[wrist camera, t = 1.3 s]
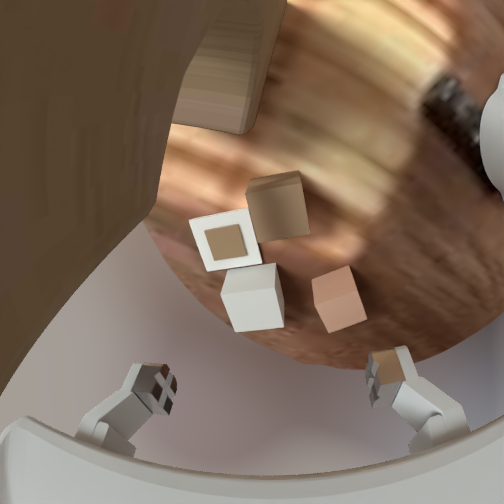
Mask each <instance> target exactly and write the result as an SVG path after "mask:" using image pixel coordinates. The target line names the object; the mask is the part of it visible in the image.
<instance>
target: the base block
mask: <svg viewBox="0 0 504 504" xmlns="http://www.w3.org/2000/svg"><path fill="white" fill-rule="evenodd" d="M221 297H222V300H223V302H224V305H225V307H226V310H227V312H228V315H229V318H230V320H231V323H232V325H233V328H234V330H235V332H242V331H253V330H263V329H272V328H281V327H284V297H283V293H282V288H281V284H280V280H279V275H278V271H277V267H276V263H272V264H265V265H259V266H252V267H246V268H239V269H232V270H228V271H227V275H226V278H225V281H224V285H223V288H222V291H221Z"/></svg>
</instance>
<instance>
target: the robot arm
mask: <svg viewBox="0 0 504 504" xmlns="http://www.w3.org/2000/svg"><path fill="white" fill-rule="evenodd" d="M480 150H481V157H482V161H483V165H484V168H485V171H486V173H487V175H488V177H489V179H490V181H491V182H492V184H493V185H494V186H495V187H496V188H497V189H498V190H499V191H500V193H501V195H502V198H503V201H504V74H502V75H501V77H500V81H499V85H498V88H497V90H496V91H495V92H494V93H493V94H492V95H491V97H490V98H489V99H488V101H487V103H486V105H485V107H484V110H483V113H482V118H481V124H480ZM368 361H369V363H368V364H367V365H366V370H365V377H366V383H367V387H368V388H370V389H371V391H370V394H369V398H370V402H371V407H372V409H375V408H380V407H386V406H391V405H392V407H393V408H394V409H395V410H396V411H397V412H398V413H399V414H400V415H401V416H402V417H403V418H404V419H405V420H406V421H407V423H409V425H410V426H411V427H412V428H413V429H414V430H415V431H416V432H417V434H416V435H415V436H414V438H413V439H412V440H411V441H410V443H409V444H408V446H409V452H410V455H408V456H405V457H401V458H398V459H394V460H390V461H386V462H382V463H378V464H373V465H368V466H363V467H358V468H352V469H346V470H340V471H332V472H324V473H314V474H301V475H282V476H281V475H280V476H279V475H278V476H258V475H257V476H256V475H255V476H254V475H233V474H221V473H211V472H203V471H196V470H189V469H183V468H177V467H172V466H166V465H161V464H157V463H153V462H148V461H144V460H140V459H136V458H133V457H134V454H135V450H136V448H135V446H134V445H133V444H131V443H130V442H129V441H128V440H129V439H130V438H131V437H132V435H133V434H134V433H135V432H136V431H137V430H138V429H139V428H140V427H141V426H142V425H143V424H144V423H145V422H146V421H147V420H148V419H149V418H150V417H151V416H152V415H153V414H160V415H169V414H170V411H171V408H172V405H173V402H172V400H171V398H172V397H174V396H175V394H176V391H177V382H176V378H175V377H174V375H173V374H171V373H169V370H170V369H169V367H168V366H167V364H155V363H145V362H134V363H133V364H132V366H131V369H130V371H129V373H128V375H127V377H126V379H125V382H124V384H123V386H122V388H121V390H117V391H116V392H114V393H113V394H112V395H111V396H110V397H108V398H107V399H105V400H104V401H103V402H102V403H100V404H99V405H97V406H96V407H95V408H94V409H92V410H91V411H90V412H88V413H87V414H86V415H84V417H83V419H82V422H81V424H80V426H79V428H78V431H77V433H76V435H75V437H72V436H70V435H68V434H65V433H63V432H61V431H59V430H57V429H54V428H52V427H50V426H48V425H46V424H44V423H42V422H40V421H38V420H37V419H35V418H33V417H31V416H24V417H21V418H20V419H18V420H17V421H15V422H13V423H12V424H10V425H9V426H7V427H6V428H5V429H4V431H3V432H2V434H1V435H0V504H504V415H503V416H501V417H499V418H497V419H495V420H494V421H492V422H490V423H488V424H486V425H484V426H482V427H480V428H478V429H476V430H474V431H472V432H470V429H469V426H468V423H467V420H466V417H465V414H464V411H463V409H462V406H461V405H460V404H459V403H457V402H456V401H454V400H453V399H452V398H451V397H449V396H448V395H446V394H445V393H444V392H443V391H441V390H440V389H438V388H437V387H436V386H434V385H433V384H432V383H430V382H429V381H428V380H426V379H425V378H423V377H419V376H418V374H417V371H416V368H415V366H414V363H413V360H412V358H411V355H410V353H409V350H408V348H407V346H405V345H404V346H400V347H395V348H389V349H384V350H379V351H374V352H370V353H369V355H368Z"/></svg>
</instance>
